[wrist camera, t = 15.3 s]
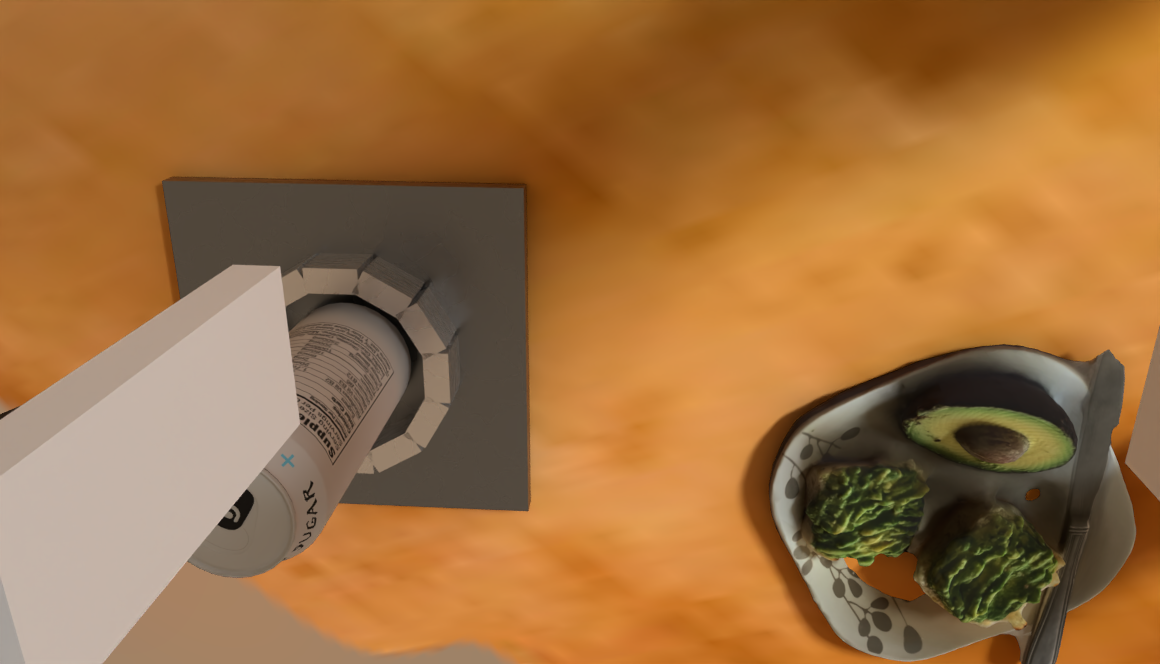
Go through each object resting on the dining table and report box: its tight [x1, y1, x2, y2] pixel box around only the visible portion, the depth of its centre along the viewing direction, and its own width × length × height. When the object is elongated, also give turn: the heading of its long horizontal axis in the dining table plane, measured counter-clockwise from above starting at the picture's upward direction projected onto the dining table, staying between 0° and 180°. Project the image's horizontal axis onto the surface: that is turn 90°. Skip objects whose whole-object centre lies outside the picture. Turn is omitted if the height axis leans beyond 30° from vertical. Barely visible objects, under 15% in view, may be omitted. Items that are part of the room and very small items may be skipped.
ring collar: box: [162, 177, 531, 511], centre depth 44 cm, size 17×17×4 cm
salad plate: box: [769, 344, 1136, 664], centre depth 45 cm, size 19×18×5 cm
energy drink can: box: [188, 303, 411, 578], centre depth 38 cm, size 6×6×15 cm
